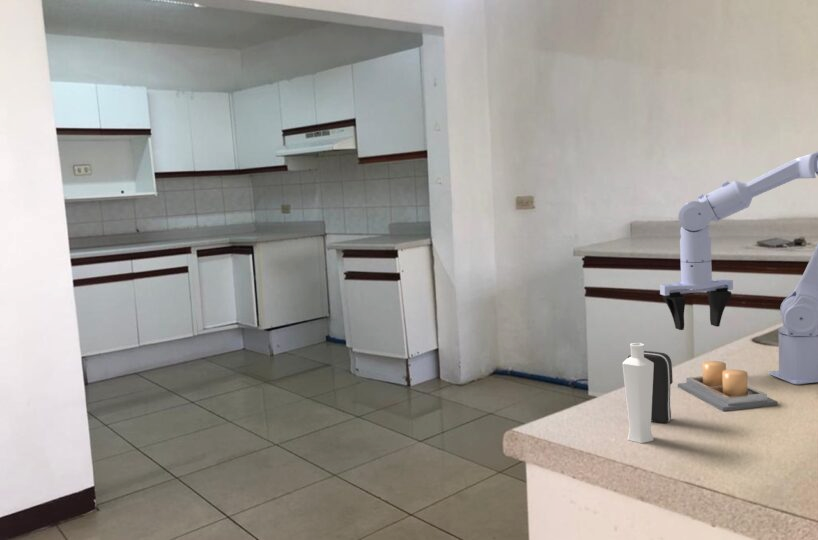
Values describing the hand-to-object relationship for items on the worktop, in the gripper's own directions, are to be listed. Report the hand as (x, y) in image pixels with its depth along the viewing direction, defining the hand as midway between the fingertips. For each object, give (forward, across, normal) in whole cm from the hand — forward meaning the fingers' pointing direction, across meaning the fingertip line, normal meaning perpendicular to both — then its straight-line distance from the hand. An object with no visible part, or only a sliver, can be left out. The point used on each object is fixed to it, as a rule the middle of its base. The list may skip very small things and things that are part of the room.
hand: (697, 327), depth 136 cm
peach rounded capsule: (+9, +4, +12) cm, 15 cm away
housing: (+9, +4, +15) cm, 18 cm away
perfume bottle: (+10, +27, +30) cm, 41 cm away
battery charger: (+10, +21, +22) cm, 32 cm away
